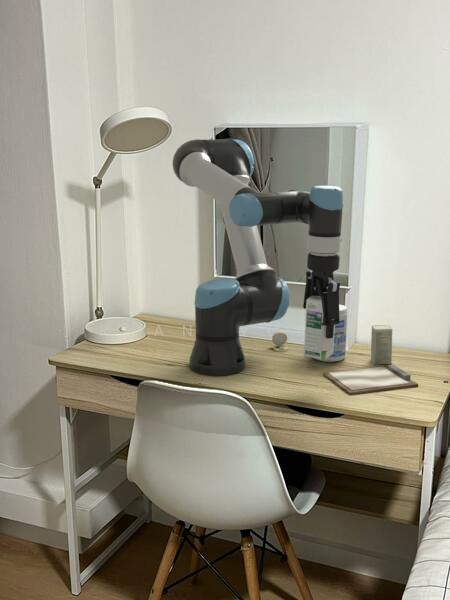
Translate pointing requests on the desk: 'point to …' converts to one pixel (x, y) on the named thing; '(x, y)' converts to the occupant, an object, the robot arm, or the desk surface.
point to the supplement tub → (339, 337)
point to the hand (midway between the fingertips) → (319, 344)
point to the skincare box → (381, 344)
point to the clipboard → (371, 379)
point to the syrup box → (315, 329)
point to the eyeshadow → (279, 342)
